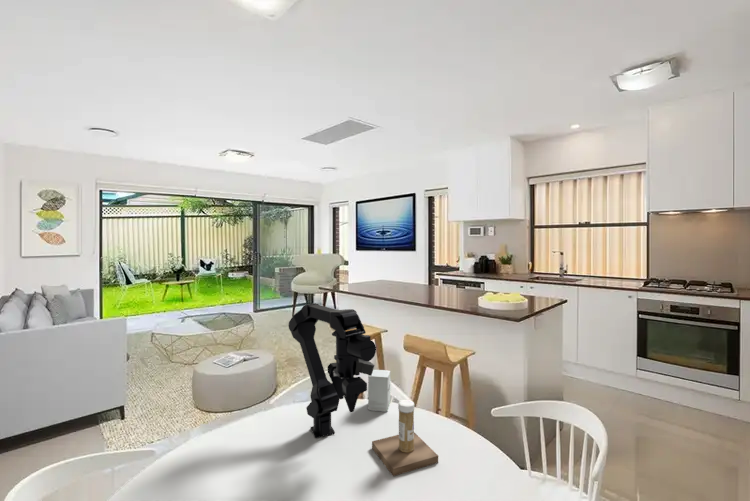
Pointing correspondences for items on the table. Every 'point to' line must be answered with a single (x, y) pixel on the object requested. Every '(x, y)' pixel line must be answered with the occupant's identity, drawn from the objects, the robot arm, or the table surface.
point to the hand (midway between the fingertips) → (346, 405)
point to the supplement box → (379, 390)
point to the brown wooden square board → (403, 455)
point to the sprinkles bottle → (406, 425)
